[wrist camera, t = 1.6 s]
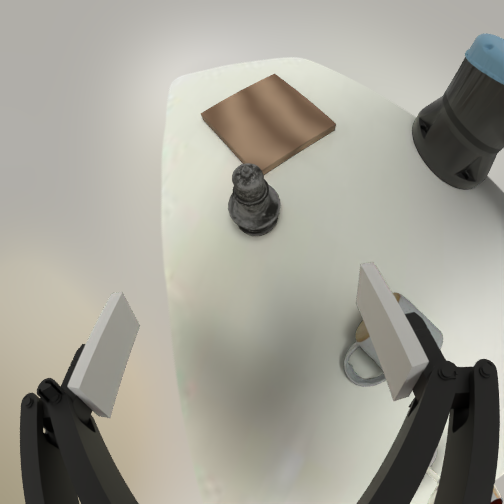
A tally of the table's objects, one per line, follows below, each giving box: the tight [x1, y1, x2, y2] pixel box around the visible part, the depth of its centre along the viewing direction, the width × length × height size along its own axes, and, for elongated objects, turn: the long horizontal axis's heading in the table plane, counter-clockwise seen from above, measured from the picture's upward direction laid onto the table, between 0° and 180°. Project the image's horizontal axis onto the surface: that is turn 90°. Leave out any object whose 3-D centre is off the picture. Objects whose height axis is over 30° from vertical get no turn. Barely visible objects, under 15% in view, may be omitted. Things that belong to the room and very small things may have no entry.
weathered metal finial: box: [228, 163, 280, 236], centre depth 29 cm, size 6×6×12 cm
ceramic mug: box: [344, 293, 443, 386], centre depth 26 cm, size 11×8×8 cm
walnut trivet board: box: [201, 74, 336, 175], centre depth 37 cm, size 14×14×2 cm
